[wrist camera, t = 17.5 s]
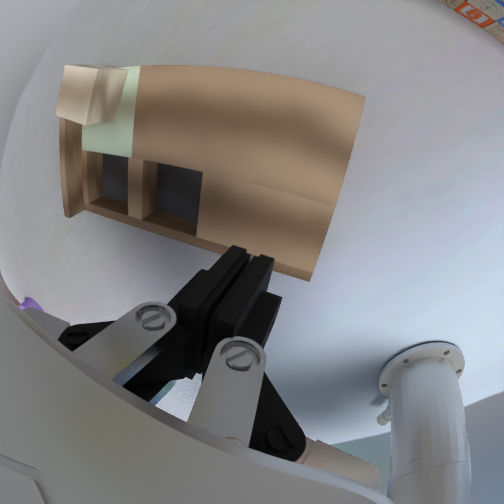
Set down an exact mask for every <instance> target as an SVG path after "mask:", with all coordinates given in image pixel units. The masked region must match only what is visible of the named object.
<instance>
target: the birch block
mask: <svg viewBox="0 0 504 504" xmlns="http://www.w3.org/2000/svg"><path fill="white" fill-rule="evenodd" d="M128 71H129V70H125V69H120V68H114V67H108V66H101V65H65V68H64V73H63V77H62V82H61V86H60V91H59V97H58V103H57V109H56V116H59V117H62V118H65V119H68V120H71V121H74V122H77V123H80V124H82V125H85V126H86V125H91V124H96V123H101V122H106V121H112V120H116V117H117V113H118V108H119V104H120V100H121V96H122V92H123V89H124V85H125V81H126V78H127V75H128Z"/></svg>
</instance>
